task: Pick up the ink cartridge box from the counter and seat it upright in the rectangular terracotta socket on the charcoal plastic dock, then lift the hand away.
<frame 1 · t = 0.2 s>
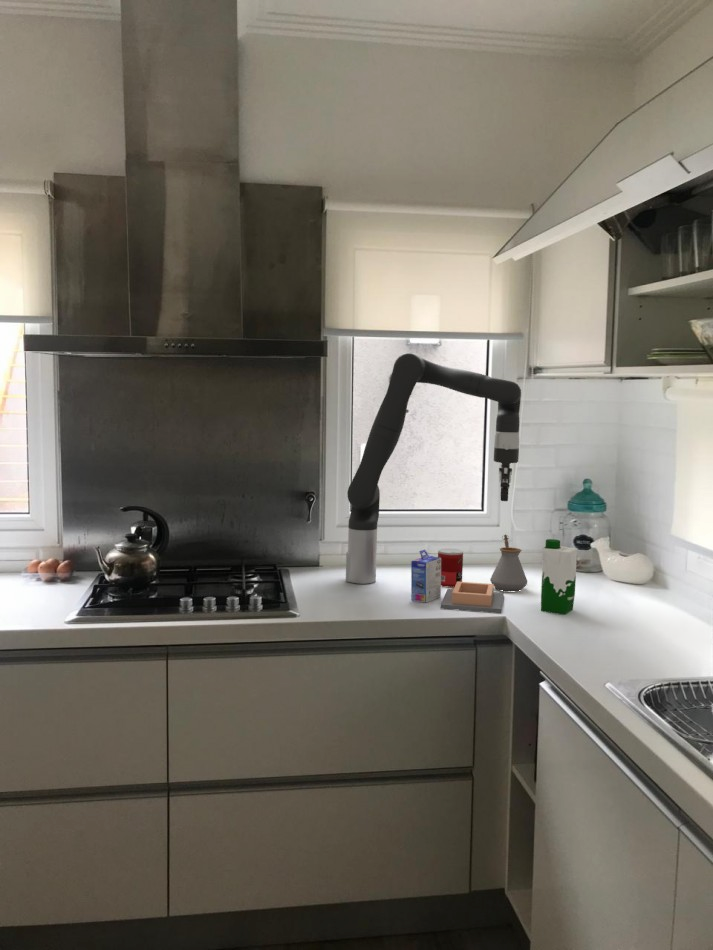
hand: (504, 499, 257), 29 cm above the countertop, tool pointing down, fingers open, 8 cm apart
canned food: (449, 585, 267), on the countertop
dock: (473, 602, 245), on the countertop
coffee pot: (506, 586, 267), on the countertop
milk carton: (557, 611, 238), on the countertop
ink cartridge box: (425, 599, 247), on the countertop
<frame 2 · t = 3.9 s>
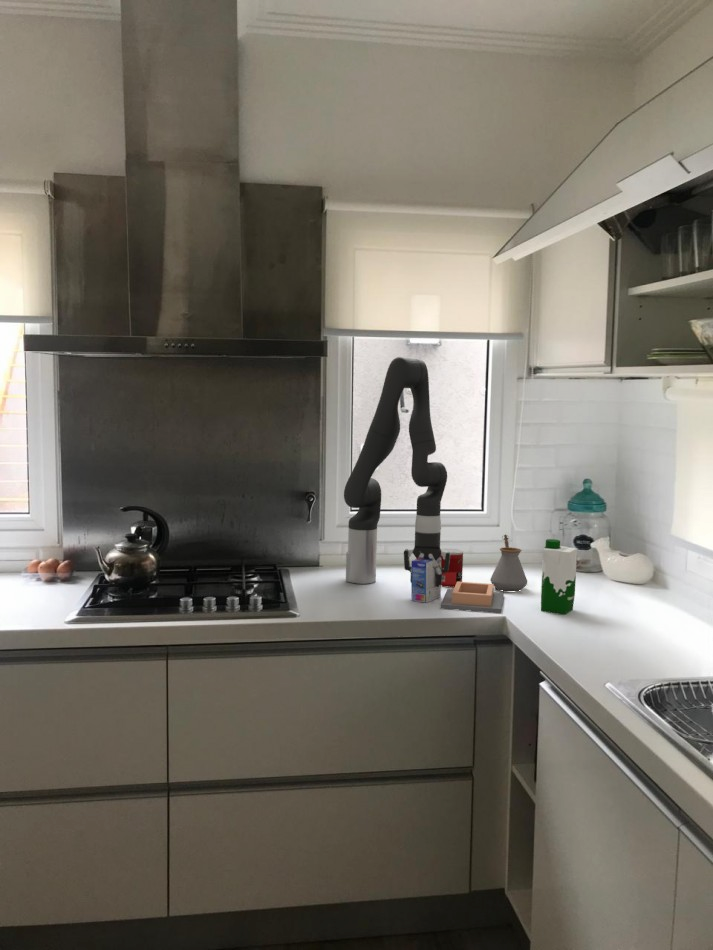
hand: (426, 585, 247), 4 cm above the countertop, tool pointing down, fingers closed on ink cartridge box, 6 cm apart
ink cartridge box: (425, 599, 247), on the countertop, touching gripper
everything else where it was.
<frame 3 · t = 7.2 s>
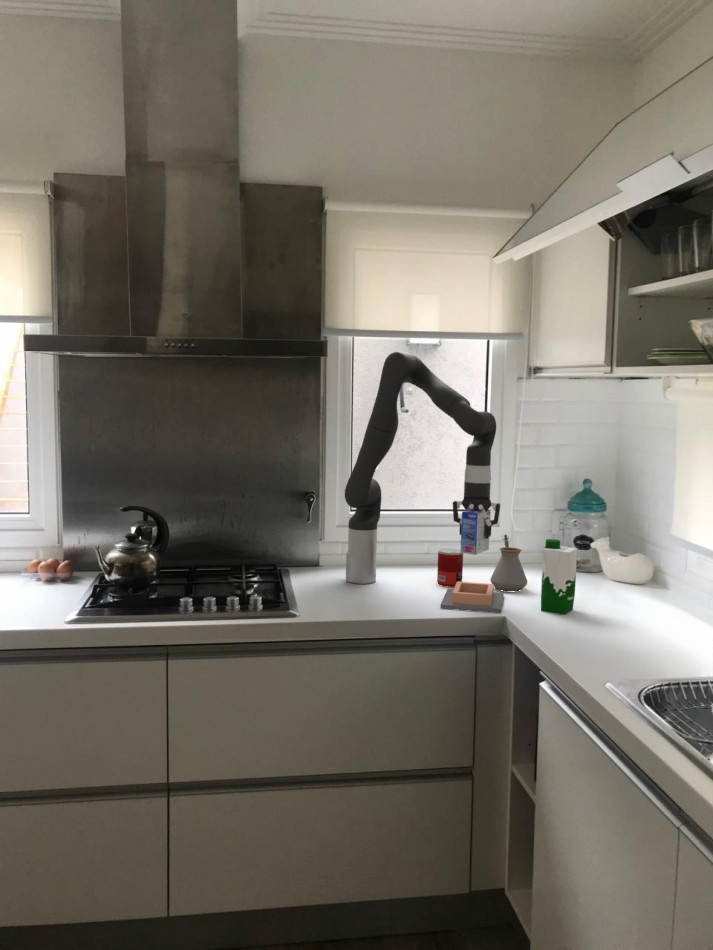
hand: (475, 537, 243), 19 cm above the countertop, tool pointing down, fingers closed on ink cartridge box, 6 cm apart
ink cartridge box: (474, 552, 243), point 15 cm above the countertop, touching gripper
everything else where it was.
when the fingers open (7 cm above the countertop, at t = 10.6 s): ink cartridge box drops 1 cm, resting on dock.
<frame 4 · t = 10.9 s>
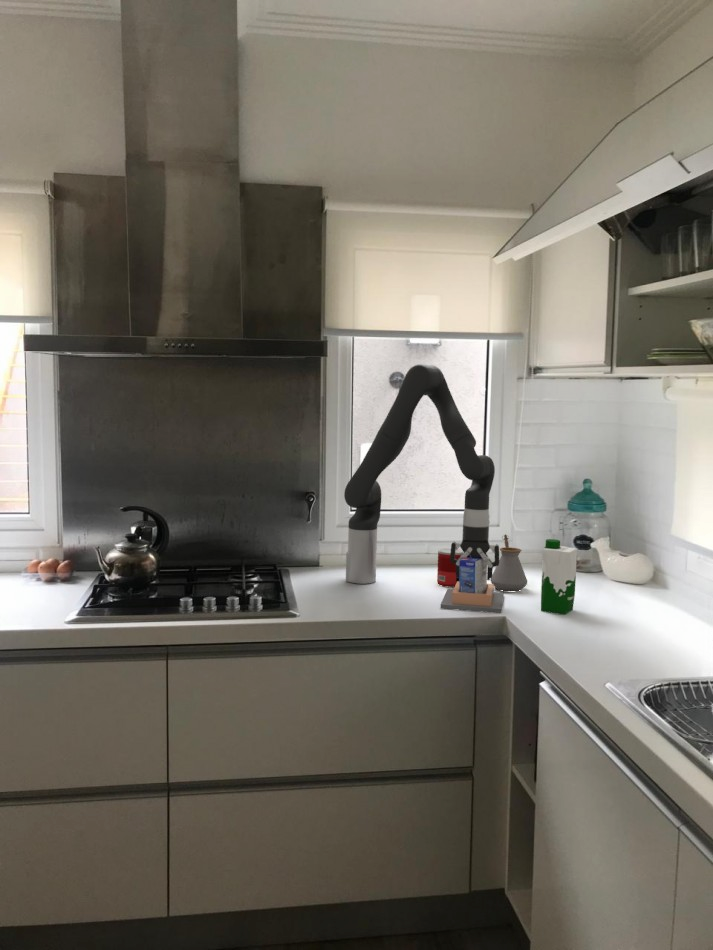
hand: (473, 578, 244), 7 cm above the countertop, tool pointing down, fingers open, 8 cm apart
ink cartridge box: (472, 598, 245), point 1 cm above the countertop, touching dock
everything else where it was.
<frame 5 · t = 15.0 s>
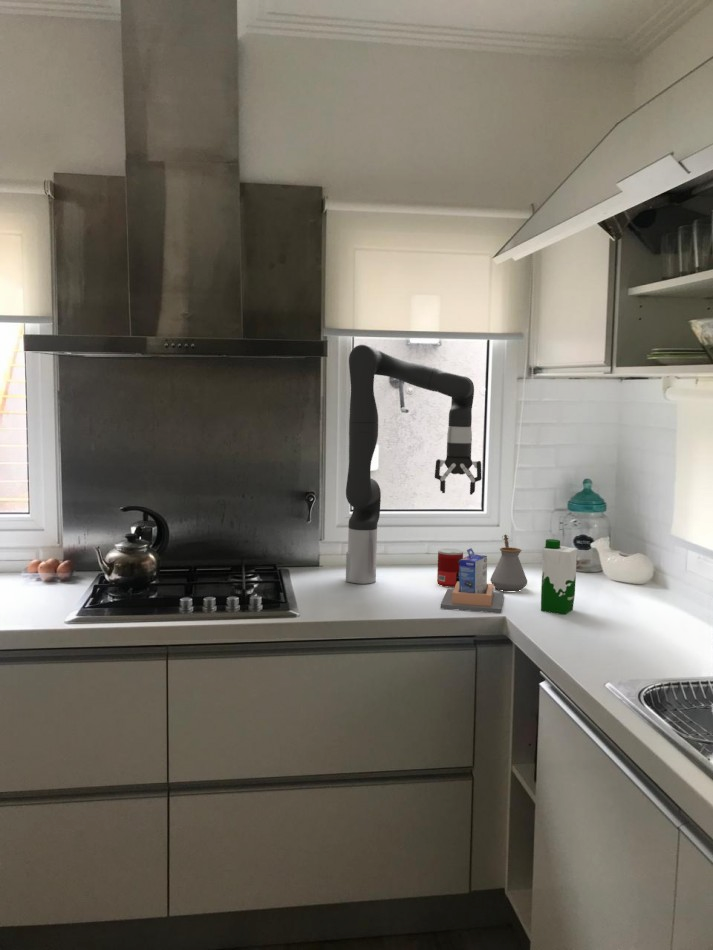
hand: (457, 493, 258), 30 cm above the countertop, tool pointing down, fingers open, 8 cm apart
nothing on the countertop moved.
at the end: ink cartridge box 0.2 cm off-centre on the dock, point 1.0 cm above the dock's base; ink cartridge box tilted 0°; the gripper is holding nothing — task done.
